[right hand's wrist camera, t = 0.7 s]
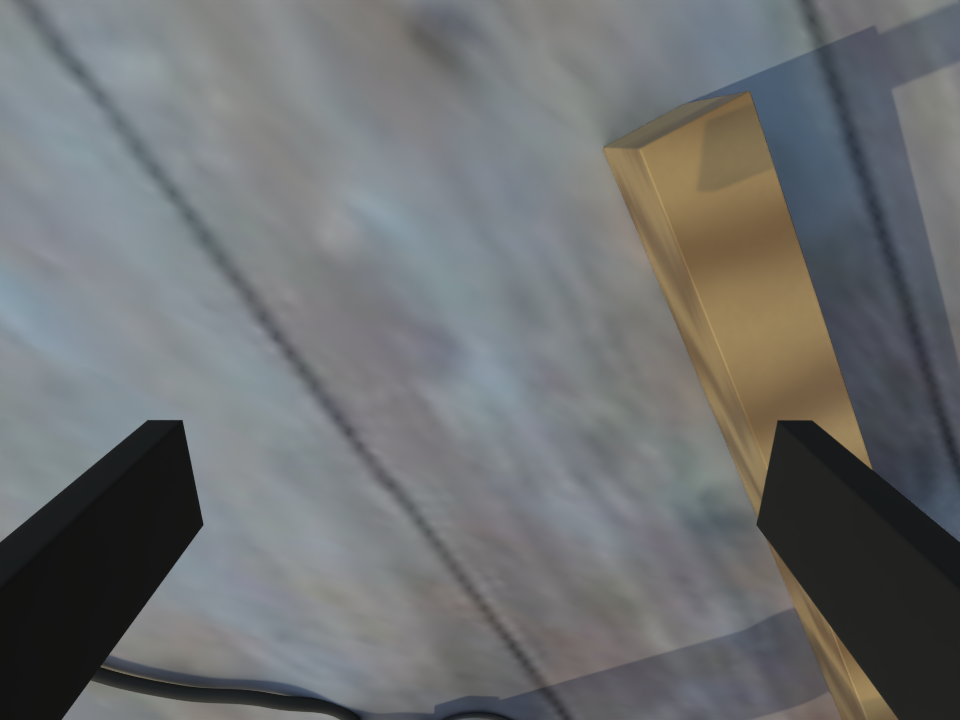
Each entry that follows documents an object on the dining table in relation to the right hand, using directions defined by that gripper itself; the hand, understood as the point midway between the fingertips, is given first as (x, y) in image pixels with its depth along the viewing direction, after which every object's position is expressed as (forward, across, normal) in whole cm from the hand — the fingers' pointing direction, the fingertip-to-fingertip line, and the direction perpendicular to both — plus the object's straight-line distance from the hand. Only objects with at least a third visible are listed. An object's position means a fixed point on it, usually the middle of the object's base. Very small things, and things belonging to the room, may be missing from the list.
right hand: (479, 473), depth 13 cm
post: (+21, +22, -19) cm, 36 cm away
